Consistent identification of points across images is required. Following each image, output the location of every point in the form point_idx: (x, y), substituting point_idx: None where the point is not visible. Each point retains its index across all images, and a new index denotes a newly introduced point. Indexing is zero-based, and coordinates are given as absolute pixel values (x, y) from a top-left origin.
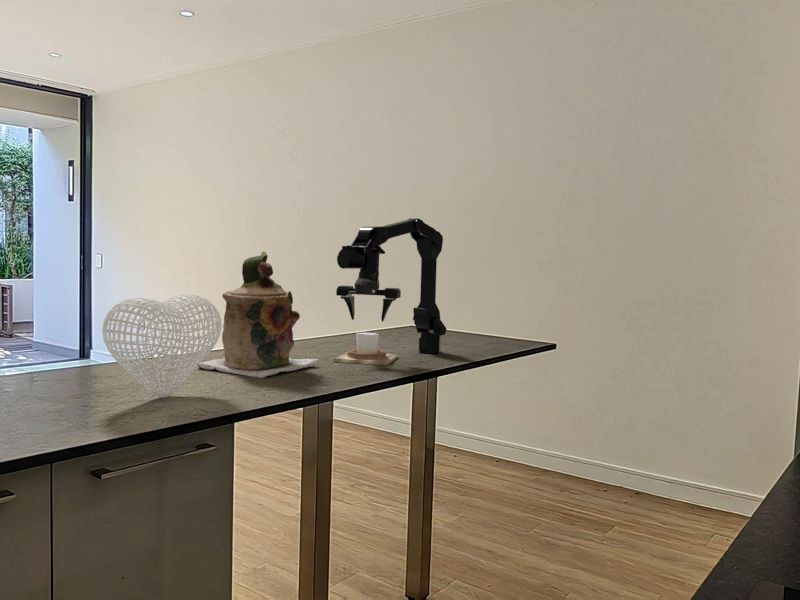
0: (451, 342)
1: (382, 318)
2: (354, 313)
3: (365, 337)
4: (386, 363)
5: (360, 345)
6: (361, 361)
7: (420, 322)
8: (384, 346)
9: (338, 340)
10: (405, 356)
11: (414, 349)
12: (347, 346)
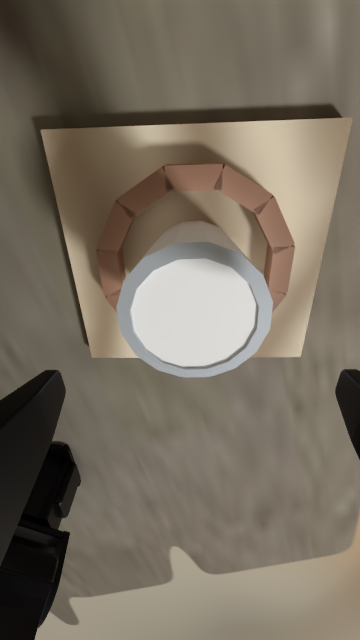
0: (70, 572)
1: (35, 383)
2: (357, 451)
3: (188, 238)
4: (47, 129)
5: (221, 236)
6: (186, 124)
7: (15, 563)
8: (204, 502)
9: (350, 537)
10: (82, 384)
11: (109, 488)
12: (315, 476)
